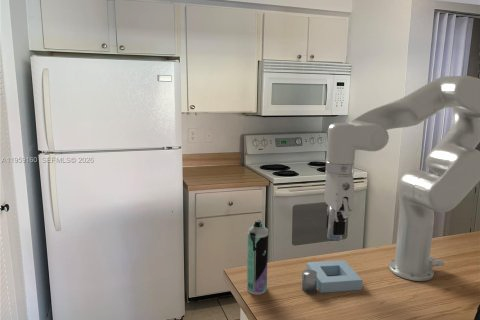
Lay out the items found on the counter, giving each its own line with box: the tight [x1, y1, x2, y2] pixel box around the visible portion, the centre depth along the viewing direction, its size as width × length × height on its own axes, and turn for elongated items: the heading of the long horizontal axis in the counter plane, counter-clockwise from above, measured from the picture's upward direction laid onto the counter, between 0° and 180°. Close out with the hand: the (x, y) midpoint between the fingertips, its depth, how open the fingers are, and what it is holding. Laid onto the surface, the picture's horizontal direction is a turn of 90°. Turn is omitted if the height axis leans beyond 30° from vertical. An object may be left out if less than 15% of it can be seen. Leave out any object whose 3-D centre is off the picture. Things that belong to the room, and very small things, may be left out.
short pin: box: [301, 268, 318, 294], centre depth 102 cm, size 4×4×5 cm
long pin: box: [326, 207, 343, 242], centre depth 104 cm, size 4×4×10 cm
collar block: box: [305, 259, 363, 294], centre depth 107 cm, size 12×12×3 cm
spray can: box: [246, 220, 269, 296], centre depth 100 cm, size 6×6×20 cm
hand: (335, 230), depth 104 cm, fingers closed on long pin, 4 cm apart
